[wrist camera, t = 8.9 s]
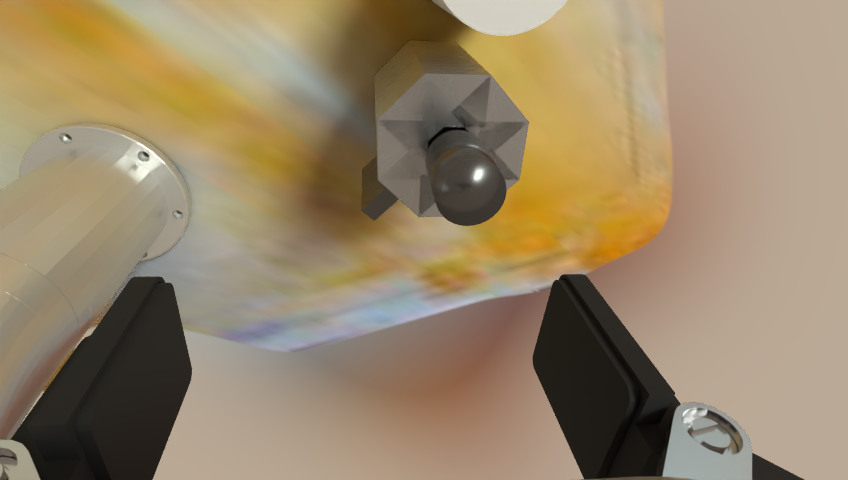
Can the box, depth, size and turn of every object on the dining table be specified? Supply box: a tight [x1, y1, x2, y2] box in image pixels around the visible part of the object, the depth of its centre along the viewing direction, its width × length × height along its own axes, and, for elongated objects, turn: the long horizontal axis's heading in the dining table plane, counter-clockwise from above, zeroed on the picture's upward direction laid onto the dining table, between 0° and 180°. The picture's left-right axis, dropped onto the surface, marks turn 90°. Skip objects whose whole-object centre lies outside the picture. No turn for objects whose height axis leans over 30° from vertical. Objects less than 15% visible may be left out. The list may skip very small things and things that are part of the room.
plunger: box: [425, 127, 506, 226], centre depth 30 cm, size 4×4×17 cm
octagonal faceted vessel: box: [362, 40, 529, 221], centre depth 34 cm, size 12×9×12 cm
